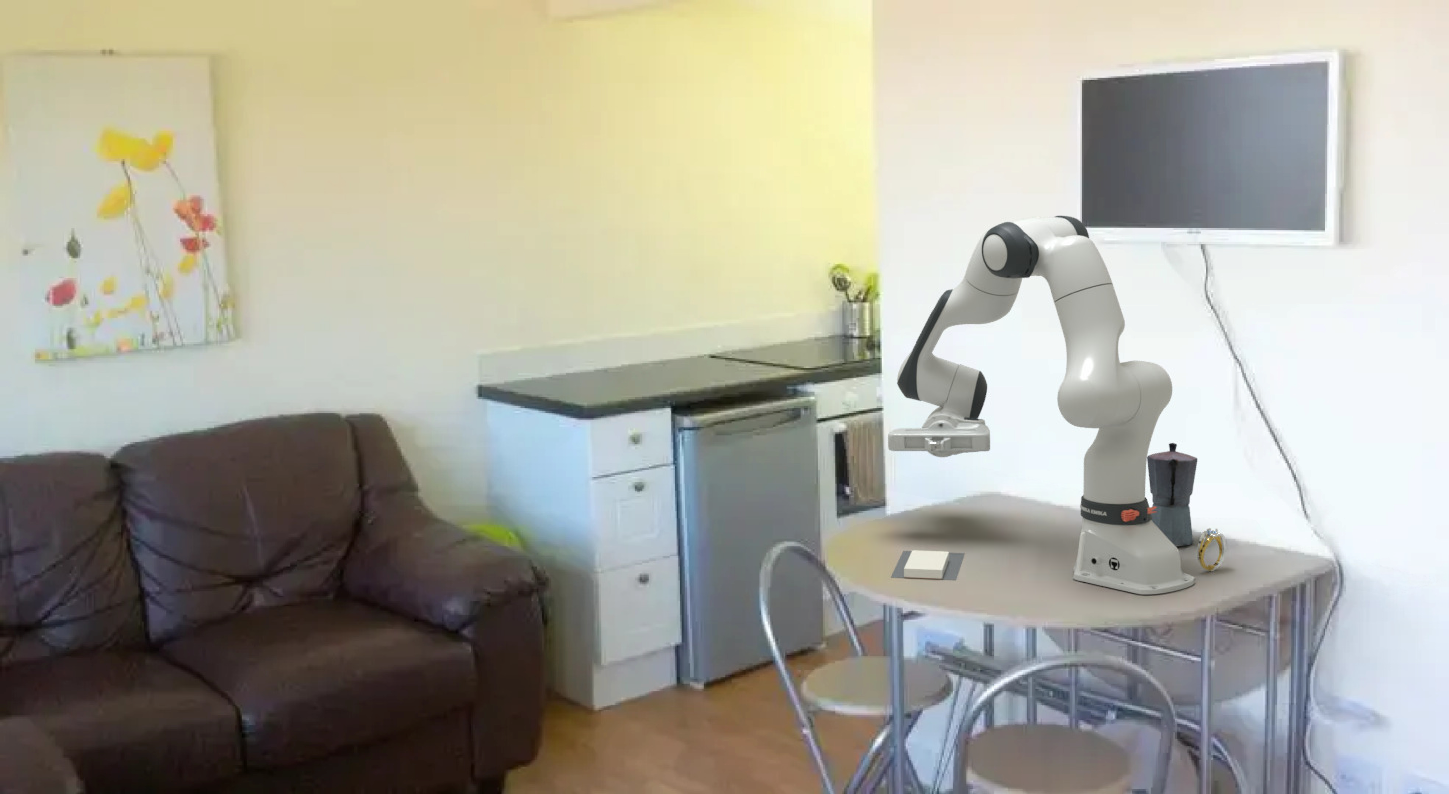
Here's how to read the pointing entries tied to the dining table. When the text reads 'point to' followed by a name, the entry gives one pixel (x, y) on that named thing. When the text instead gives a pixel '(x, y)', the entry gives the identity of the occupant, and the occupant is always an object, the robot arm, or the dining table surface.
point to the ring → (1202, 547)
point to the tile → (926, 564)
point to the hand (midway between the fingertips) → (935, 447)
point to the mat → (949, 574)
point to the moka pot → (1172, 493)
